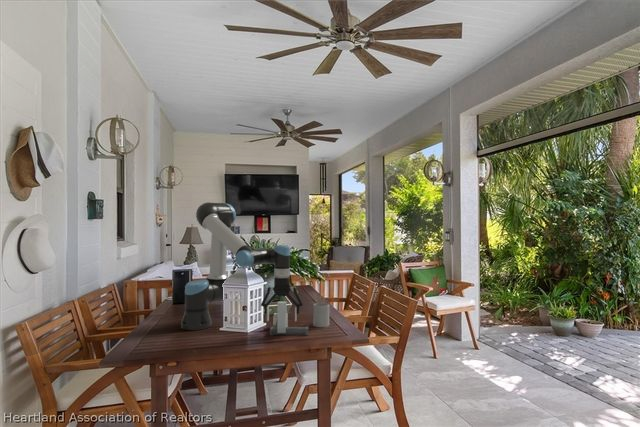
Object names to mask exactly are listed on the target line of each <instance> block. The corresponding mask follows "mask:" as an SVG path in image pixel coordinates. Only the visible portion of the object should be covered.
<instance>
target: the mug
mask: <svg viewBox="0 0 640 427" xmlns="http://www.w3.org/2000/svg"><path fill="white" fill-rule="evenodd" d="M312 311H313V321H312V322H313V326H314V327H316V328H327V327H330V304H329V303H327V302H316V303H314V304H313V310H312Z"/></svg>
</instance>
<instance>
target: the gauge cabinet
mask: <svg viewBox="0 0 640 427" xmlns="http://www.w3.org/2000/svg"><path fill="white" fill-rule="evenodd" d="M288 315H289V314H288V312H286V327H289V325H288V324H289V323H288V322H289V317H288ZM272 320H273V321H272V327H277V313H276V312H275V313H273V316H272Z"/></svg>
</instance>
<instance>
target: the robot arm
mask: <svg viewBox="0 0 640 427" xmlns="http://www.w3.org/2000/svg"><path fill="white" fill-rule="evenodd" d="M195 218H196V221H197V222H198V224H199V225H200V226H201V227H202V228H203V229H204V230H208V231H209V232H210V233H211V238H210V240H211V242H210V256H209V258H210V259H209V260H210V262H209V274H208V275H206V277H205V278H206V279H203V278H202V279H201V278H200V279H196V280H195V279H194V280H191V281H189V282H187V283H186V284H185V286H184V288H185V289H184V313H183V317H182V319H181V322H180V329H182V330H185V331H201V330H205V329H208V328H211V326H212V323H213V322H212V318H211V315H210V312H209V304H212V303H216V302H221V301H224V300H223V287H222V284H223V283H224V281H225V280H226V279H227V278H228V279H229V276H228V275H227V274H226V271H227V256H228V255H227V254H228V250H229V251H230V252H231V253H232V254H233V256H234V257H235V261H236V264H237V265H238V266H239V267H242V268H243V267H244V268H245V267H252V266H258V265H266V264H271V265H273V266H274V267H273V268H274V269H273V270H274V273H273V275H274V278H273V279H274V280H273V281H274V282H273V284H274V285H273V286H268V287H267V292H266V293H265V296H264V297H263V300H262V301H261V304H260V307H263V308H264V315H266V322H269V321H270V304H271V303H272V302H273V301H274V299H276V297H286V296H287V298H289V300H290V301H291V303H293V304H294V305H295V307H294V322H297V320H298V318H297V317H298V316H297V315H299V313H300V307H303V301H302V299H301V296H300V295H299V293H298V291H297V286H295V285H294V286H291V285H290V284H291V279H290V276H291V265H290V264H291V252H290V251H291V250H290V245H287V244H278V245H277V244H276V245H275V246H274V248H265V247H261V248H256V249H252V248H250V246H248V244H247V243H246V242H244V241H243V240H242V239H241V238H240V237H239V236H237V234H236V233H234V231H232V230H231V229H232V224H234V223H235V221H236V219H237V213H236V210H235V207H233V205H232V204H229V203H226V202H209V201H208V202H204V203H202V204H201V205H199V206H198V208H197V209H196V212H195ZM272 291H273V292H274V294H273V295H272V296H271V297H270V298H269V299H268V297H269V295H270V293H271V292H272ZM290 291H292V292H293V293H294V296H295V298H296V299H297V300H296V299H295V298H294V296H292V294H291V293H290ZM267 299H268V301H267ZM266 301H267V302H266Z"/></svg>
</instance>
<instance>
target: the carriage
mask: <svg viewBox="0 0 640 427" xmlns="http://www.w3.org/2000/svg"><path fill="white" fill-rule="evenodd" d="M276 310H277V333H286V313H287V301H277V305H276Z"/></svg>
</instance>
